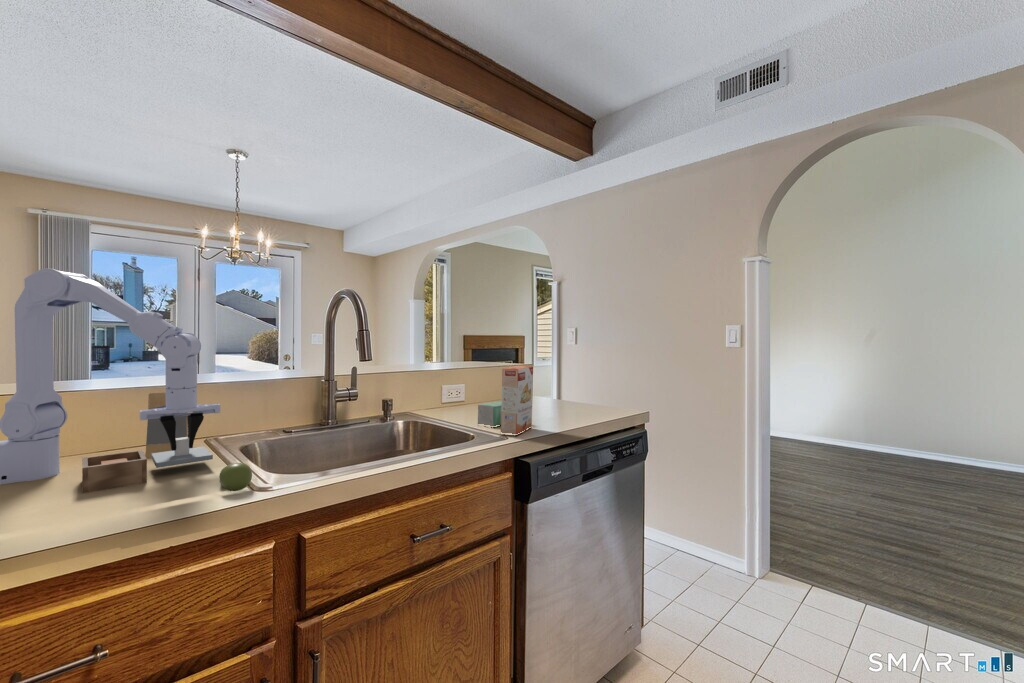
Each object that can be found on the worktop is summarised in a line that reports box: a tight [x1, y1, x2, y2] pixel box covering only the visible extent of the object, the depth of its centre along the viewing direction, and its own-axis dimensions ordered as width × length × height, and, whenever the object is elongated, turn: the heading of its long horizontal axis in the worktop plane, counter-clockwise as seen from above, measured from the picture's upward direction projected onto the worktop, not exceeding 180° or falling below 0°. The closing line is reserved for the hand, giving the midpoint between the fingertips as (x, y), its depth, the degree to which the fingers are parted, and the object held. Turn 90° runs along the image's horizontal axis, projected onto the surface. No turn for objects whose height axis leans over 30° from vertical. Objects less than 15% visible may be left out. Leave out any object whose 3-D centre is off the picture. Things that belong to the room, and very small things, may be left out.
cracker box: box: [500, 365, 534, 434], centre depth 150 cm, size 14×6×21 cm, turn 158°
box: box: [477, 400, 502, 426], centre depth 162 cm, size 7×14×8 cm, turn 142°
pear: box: [219, 462, 253, 492], centre depth 95 cm, size 6×5×10 cm
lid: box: [151, 437, 214, 469], centre depth 104 cm, size 10×10×4 cm
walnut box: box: [81, 449, 148, 494], centre depth 95 cm, size 10×10×6 cm
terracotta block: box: [101, 458, 127, 465], centre depth 95 cm, size 4×4×4 cm
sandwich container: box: [145, 392, 188, 460], centre depth 119 cm, size 9×15×15 cm, turn 34°
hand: (181, 448), depth 104 cm, fingers closed on lid, 2 cm apart
